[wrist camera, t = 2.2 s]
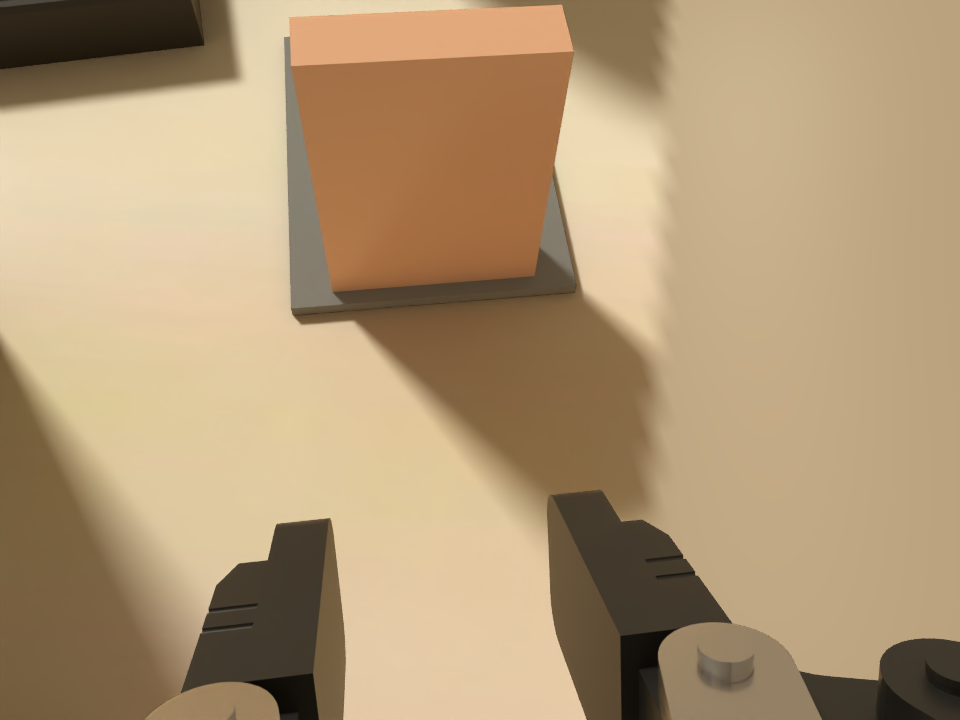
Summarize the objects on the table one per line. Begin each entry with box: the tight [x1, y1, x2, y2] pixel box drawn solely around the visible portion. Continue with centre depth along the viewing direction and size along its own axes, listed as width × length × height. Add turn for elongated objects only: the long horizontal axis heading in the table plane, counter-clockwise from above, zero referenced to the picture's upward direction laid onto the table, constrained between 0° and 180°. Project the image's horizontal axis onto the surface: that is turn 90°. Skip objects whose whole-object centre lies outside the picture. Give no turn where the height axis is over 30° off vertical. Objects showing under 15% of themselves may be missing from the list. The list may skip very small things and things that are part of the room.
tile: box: [290, 5, 574, 292], centre depth 37 cm, size 10×3×14 cm, turn 97°
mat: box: [284, 37, 576, 315], centre depth 47 cm, size 14×19×1 cm
